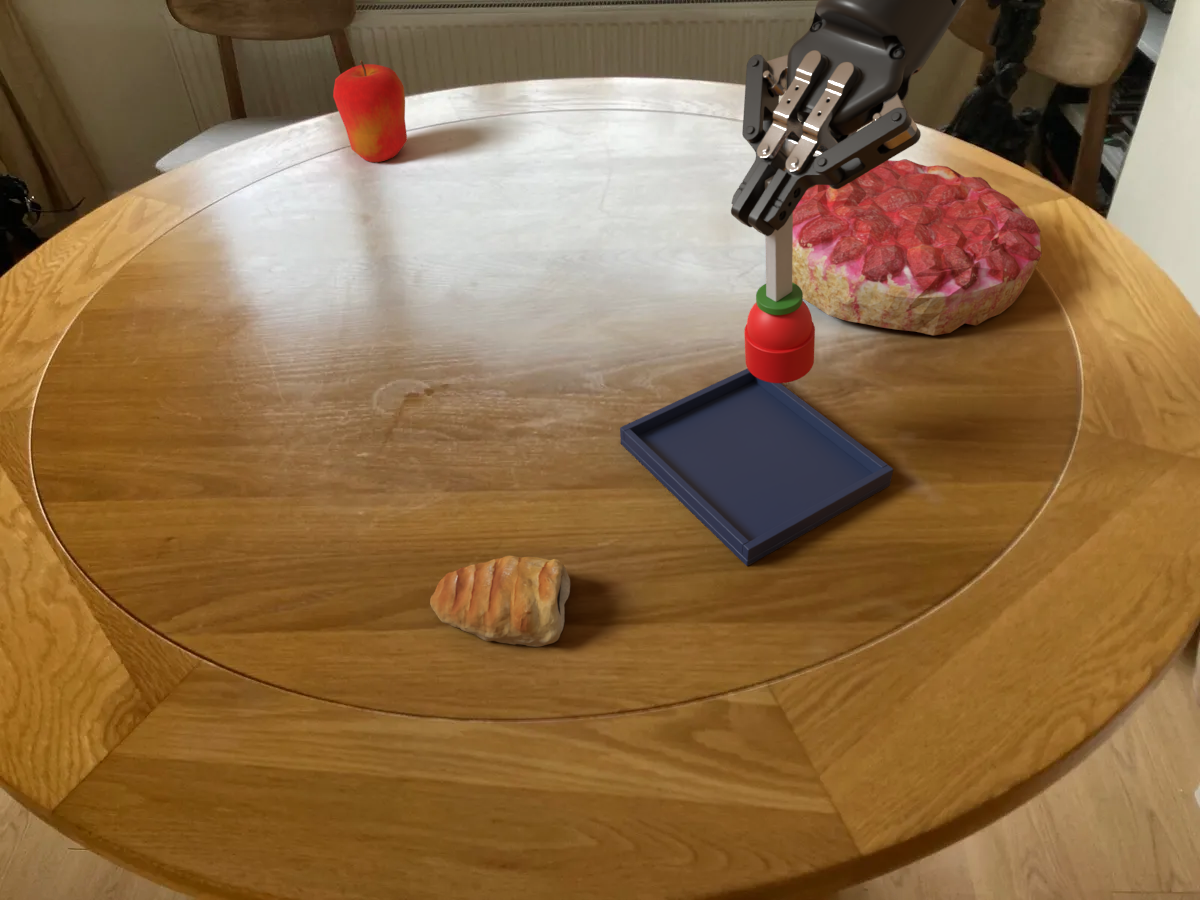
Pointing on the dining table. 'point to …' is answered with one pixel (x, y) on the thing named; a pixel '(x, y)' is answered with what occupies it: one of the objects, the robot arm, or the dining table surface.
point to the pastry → (506, 600)
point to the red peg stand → (779, 317)
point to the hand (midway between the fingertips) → (749, 224)
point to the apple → (372, 110)
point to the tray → (754, 462)
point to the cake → (912, 249)
